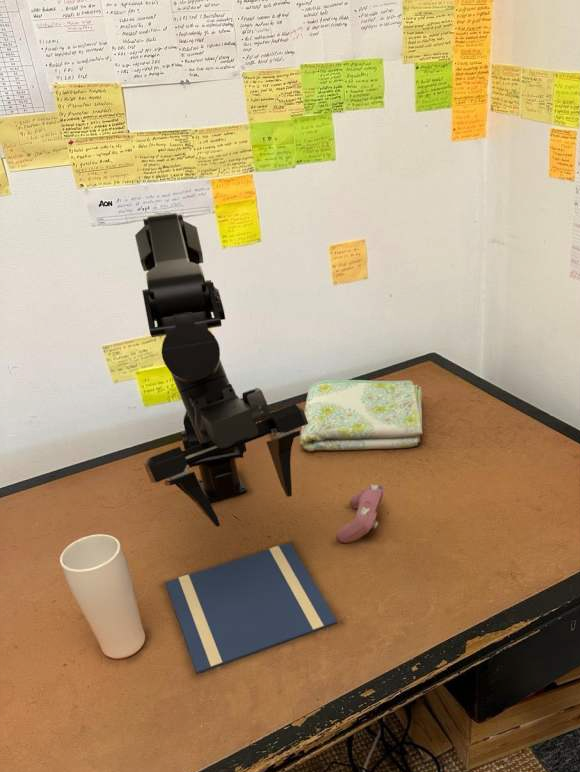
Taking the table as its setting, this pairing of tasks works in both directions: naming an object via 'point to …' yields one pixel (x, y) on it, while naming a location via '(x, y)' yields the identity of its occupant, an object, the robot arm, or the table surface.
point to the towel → (362, 415)
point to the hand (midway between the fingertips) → (254, 511)
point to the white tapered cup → (104, 593)
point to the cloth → (247, 606)
